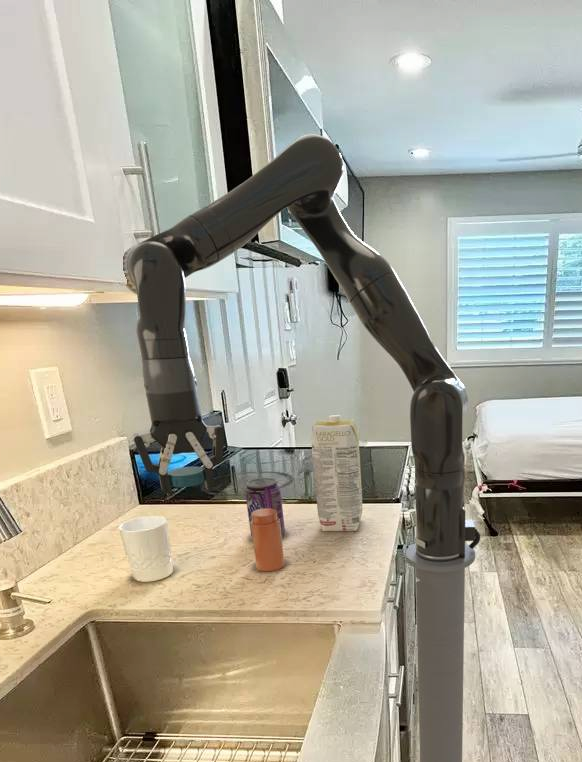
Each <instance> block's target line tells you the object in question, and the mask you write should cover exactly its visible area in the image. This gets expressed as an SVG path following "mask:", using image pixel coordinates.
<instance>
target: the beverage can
mask: <svg viewBox="0 0 582 762" xmlns="http://www.w3.org/2000/svg"><path fill="white" fill-rule="evenodd" d="M245 485H246V488H245V491H244V493H245V501H246V508H247V509H246V510H247V516H248V522H249V523H248V524H249V531H250V536H251V537H252V531H251V524H250V522H251V520H252V514H251V513H252V512H253V511H255V510H258V509H264V508H271V509H275V510H276V513H277V517H278V518H279V519H280V528H281V536H283V535H284V534H285V533H286V527H285V526H286V525H285V518H284V510H283V500H282V492H281V487H280V485H279V484H278V480H277V479H276V478H274V477H259V478H253V479H250V480H248V481H247V482H246V484H245Z"/></svg>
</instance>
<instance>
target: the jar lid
mask: <svg viewBox="0 0 582 762" xmlns="http://www.w3.org/2000/svg"><path fill="white" fill-rule="evenodd" d="M202 467H203V466H192V465H191V466H182V467H181V466H180V467H176V468H174V469H171V470H169V471H167V472H168V474H169V477H170V482H171V487H174V488H188V487H195V486H198V485H199V486H200V485H201V484H203V483H205V480H206V478H205V472H204V469H203V468H202Z"/></svg>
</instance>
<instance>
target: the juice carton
mask: <svg viewBox="0 0 582 762" xmlns="http://www.w3.org/2000/svg"><path fill="white" fill-rule="evenodd" d="M311 429H312V431H311V453H312V467H313V474H314V475H313V476H314V488H315V497H316V507H317V516H318V521H319V524H320V528H321V530H322V531H323V532H355V531H356V532H357V531H358V529H359V526H360V522H361V520H362V519H361V518H362V514H363V488H362V473H361V456H360V455H361V454H360V442H359V439H360V438H359V433H358V430H357V426H356V422H355V420H354V419H344V420H342V416H341V415H340V414H335V415H328V420H317V421H316V422H315V424H314V425H313V426H312V428H311Z"/></svg>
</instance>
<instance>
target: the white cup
mask: <svg viewBox="0 0 582 762" xmlns="http://www.w3.org/2000/svg"><path fill="white" fill-rule="evenodd" d="M118 530H119V534H120V537H121V541H122V545H123V548H124V551H125V555H126V557H127V561H128V564H129V566H130V569H131V573H132V577H133V579H134V580H135V581H137V582H143V583H147V582H148V583H149V582H155V581H160V580H163V579H165V578H168V577H169V576H171V574H172V573H174V572H173V571H174V568H173V560H172V556H173V555H172V547H171V541H170V533H169V527H168V520H167V518H166V517H164V516H160V515H149V516H148V515H146V516H138V517H135V518H131V519H128V520H126V521H124V522H122V523H120V524H119V525H118Z"/></svg>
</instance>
